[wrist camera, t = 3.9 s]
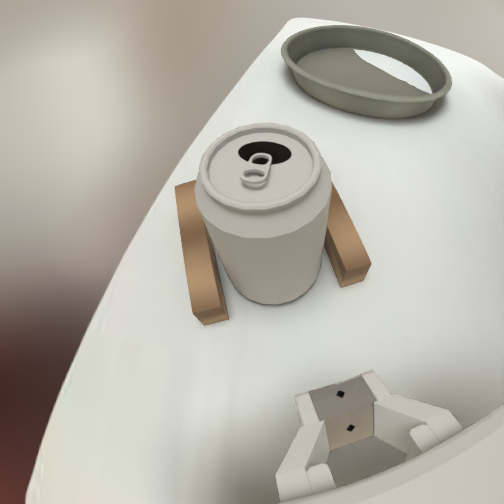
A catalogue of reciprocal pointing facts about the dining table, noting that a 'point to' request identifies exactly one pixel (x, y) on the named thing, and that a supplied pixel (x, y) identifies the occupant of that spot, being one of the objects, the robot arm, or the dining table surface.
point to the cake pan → (363, 71)
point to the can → (266, 209)
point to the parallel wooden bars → (205, 267)
